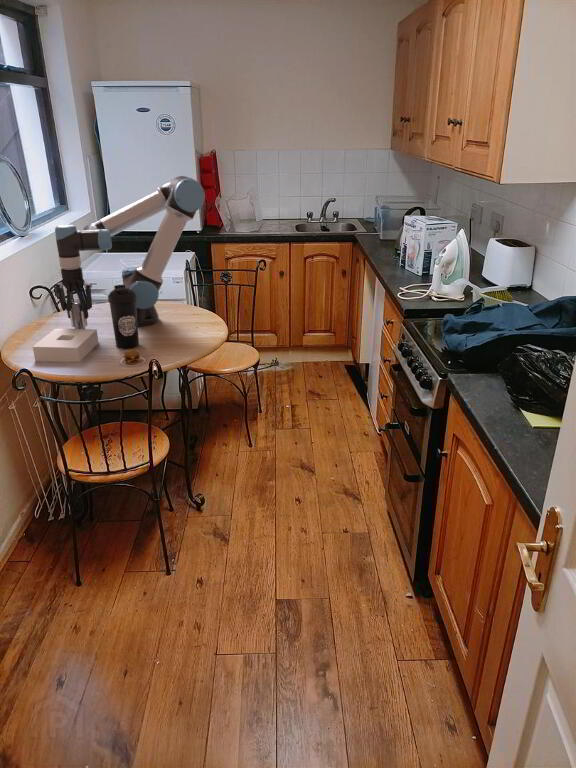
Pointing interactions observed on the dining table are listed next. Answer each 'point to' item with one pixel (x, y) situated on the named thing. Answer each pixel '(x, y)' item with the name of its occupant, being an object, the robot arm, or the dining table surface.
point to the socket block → (66, 345)
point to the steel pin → (77, 315)
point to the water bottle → (124, 317)
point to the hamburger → (132, 357)
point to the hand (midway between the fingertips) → (79, 326)
